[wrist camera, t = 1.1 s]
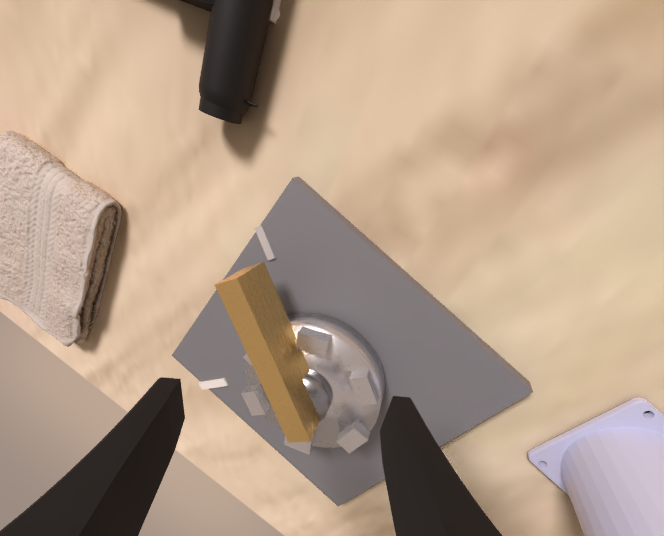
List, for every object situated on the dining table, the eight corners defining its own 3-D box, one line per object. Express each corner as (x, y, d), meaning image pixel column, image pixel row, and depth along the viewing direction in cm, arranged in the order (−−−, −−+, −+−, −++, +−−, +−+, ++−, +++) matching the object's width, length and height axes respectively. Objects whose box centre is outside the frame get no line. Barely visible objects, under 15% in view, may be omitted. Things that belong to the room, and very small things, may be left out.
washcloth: (13, 282, 36) (-24, 293, 33) (23, 125, 28) (-24, 122, 25) (96, 345, 35) (66, 361, 32) (131, 199, 27) (95, 205, 24)
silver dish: (403, 422, 23) (394, 486, 19) (287, 430, 27) (257, 485, 23) (333, 234, 20) (303, 257, 16) (214, 273, 24) (163, 300, 20)
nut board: (529, 381, 21) (533, 393, 20) (338, 497, 30) (334, 510, 29) (296, 174, 21) (289, 176, 20) (176, 350, 30) (166, 357, 29)
